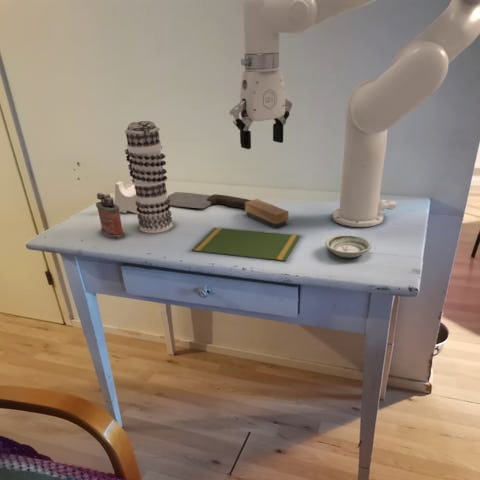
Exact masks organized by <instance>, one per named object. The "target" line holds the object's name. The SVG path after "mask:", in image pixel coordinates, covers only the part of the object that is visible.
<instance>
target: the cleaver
mask: <svg viewBox="0 0 480 480" xmlns="http://www.w3.org/2000/svg"><path fill="white" fill-rule="evenodd" d="M168 198H169V200H170V202H169V203H168V204H170V206H173V207H174V206H175V207H181V208H182V207H183V208H191V209H205V208H207V207H209V206H212V205H219V204H220V205H224V206H227V207H230V208H231V207H232V208H241V209H243V210H245V202H248V201H252V200H253V199H248V198H243V197H237V196H231V195H225V194H218V193H215V194H214V193H213V194H212V195H211V194H202V193H193V192H184V191H175V192H173V193H171V194H168Z"/></svg>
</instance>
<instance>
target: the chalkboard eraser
mask: <svg viewBox="0 0 480 480" xmlns="http://www.w3.org/2000/svg"><path fill="white" fill-rule="evenodd" d="M251 200H252V201H248V202H245V209H244V211H245V212H246V216H247V217H250V219H251V218H252V219H254V220H256V221H259V222H261V223H263V224H264V225H268V226H269V227H272V228H274V229H277V228H280V227H283V226H287V221H289V211H288V210H286V209H285V208H281V207H278V206H276V205H273V204H271V203H268V202H266V201H263V200H261V199H257V198H256V199H251Z"/></svg>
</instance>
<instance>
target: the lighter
mask: <svg viewBox="0 0 480 480" xmlns="http://www.w3.org/2000/svg"><path fill="white" fill-rule="evenodd" d="M96 198H97V200H100V201H97V202H96V203H95V207H96V208H97V212H98V217H99V221H100V227H101V228H100V229H101V233H102V234H103V235H104V236H106V237H108V238H111V239H115V240H119V239H123V238H125V232H124V230H123V225H122V220H121V214H120V211H119V206H117V205H116V204H114V202H115V200H114V198H113V196H112V197H111V195H110V194H109V193H108V194H105V193H101V192H98V193H97V194H96Z"/></svg>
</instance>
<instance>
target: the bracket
mask: <svg viewBox="0 0 480 480" xmlns="http://www.w3.org/2000/svg"><path fill="white" fill-rule="evenodd" d="M114 188H115V189H114V204H116V205H117V206H119V213H123V214H128V212H131V213H134V214H137V215H138V214H139V212H137V207H138V206H136V203H135V202H136V201H137V200H136V190H135V185H133V184H132V185H131V186H129V187H128V188H126V189H125V187H124V181H121V180H119V181H117V182H115V185H114Z"/></svg>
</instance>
